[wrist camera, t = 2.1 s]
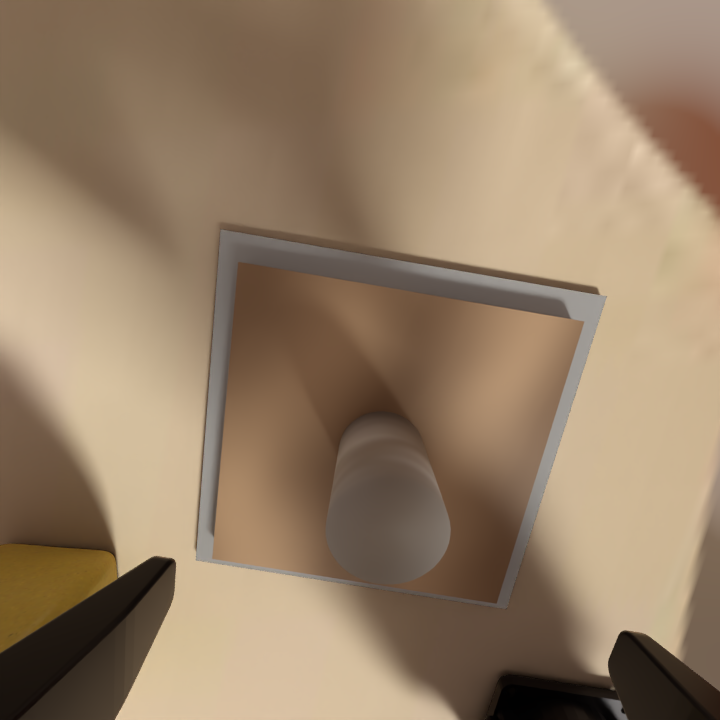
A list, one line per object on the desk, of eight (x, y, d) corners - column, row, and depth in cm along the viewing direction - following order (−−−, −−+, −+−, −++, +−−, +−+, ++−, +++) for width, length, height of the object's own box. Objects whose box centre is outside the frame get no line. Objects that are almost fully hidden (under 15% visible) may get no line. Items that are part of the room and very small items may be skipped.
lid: (571, 318, 13) (703, 344, 8) (490, 587, 16) (549, 736, 10) (245, 263, 13) (165, 251, 8) (220, 544, 15) (146, 675, 10)
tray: (601, 295, 13) (606, 296, 13) (503, 603, 16) (506, 609, 16) (224, 230, 13) (220, 229, 12) (198, 555, 16) (195, 560, 16)
